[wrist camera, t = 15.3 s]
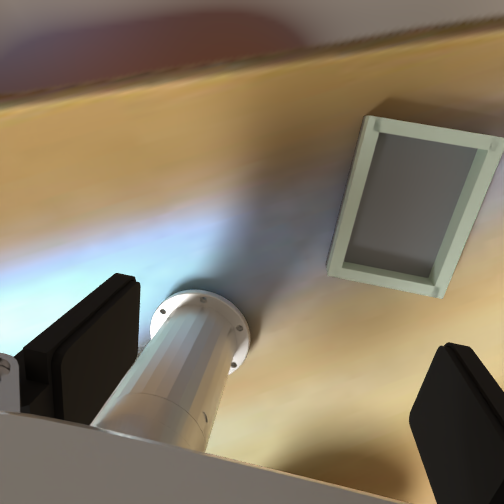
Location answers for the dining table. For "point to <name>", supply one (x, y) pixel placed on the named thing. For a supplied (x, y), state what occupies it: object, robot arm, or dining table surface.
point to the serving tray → (410, 204)
